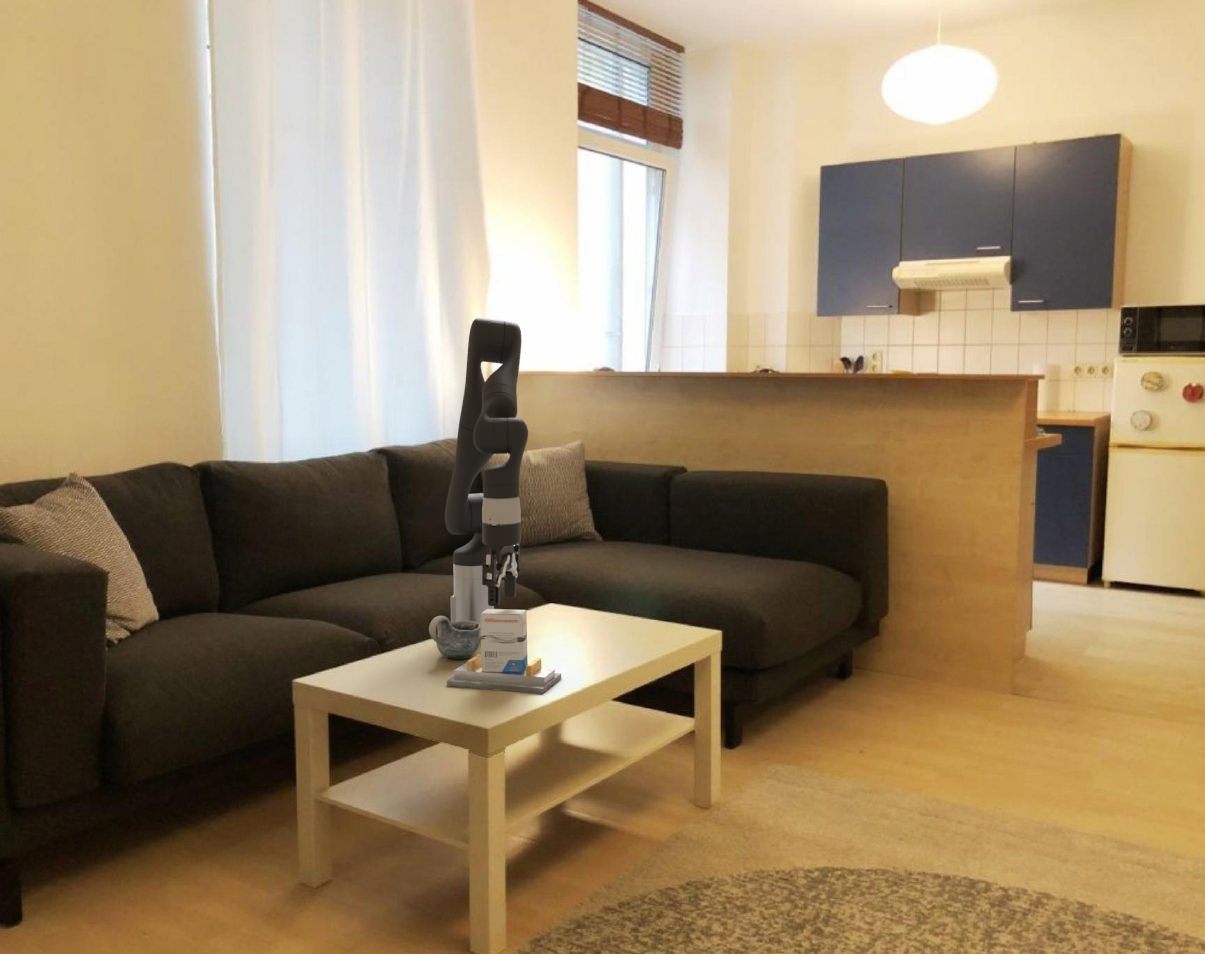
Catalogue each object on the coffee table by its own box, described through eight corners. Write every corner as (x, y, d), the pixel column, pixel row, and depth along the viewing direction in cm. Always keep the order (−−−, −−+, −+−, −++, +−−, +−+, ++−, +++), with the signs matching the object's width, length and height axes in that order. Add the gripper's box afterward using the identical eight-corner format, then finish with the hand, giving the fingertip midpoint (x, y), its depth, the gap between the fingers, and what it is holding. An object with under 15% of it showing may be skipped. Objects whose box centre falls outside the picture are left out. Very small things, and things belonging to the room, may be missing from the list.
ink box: (528, 666, 222) (527, 608, 221) (523, 673, 218) (522, 614, 216) (486, 665, 224) (485, 607, 222) (480, 672, 219) (479, 613, 218)
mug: (490, 654, 242) (489, 609, 241) (456, 668, 231) (455, 621, 230) (453, 649, 246) (452, 605, 245) (418, 662, 235) (417, 616, 235)
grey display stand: (446, 685, 218) (446, 663, 218) (469, 671, 229) (468, 649, 228) (542, 693, 212) (542, 670, 212) (561, 678, 223) (561, 656, 222)
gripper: (497, 514, 225) (498, 592, 227) (469, 524, 212) (470, 607, 213) (532, 515, 223) (532, 595, 225) (505, 525, 209) (506, 610, 211)
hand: (502, 601), depth 219 cm, fingers open, 8 cm apart
